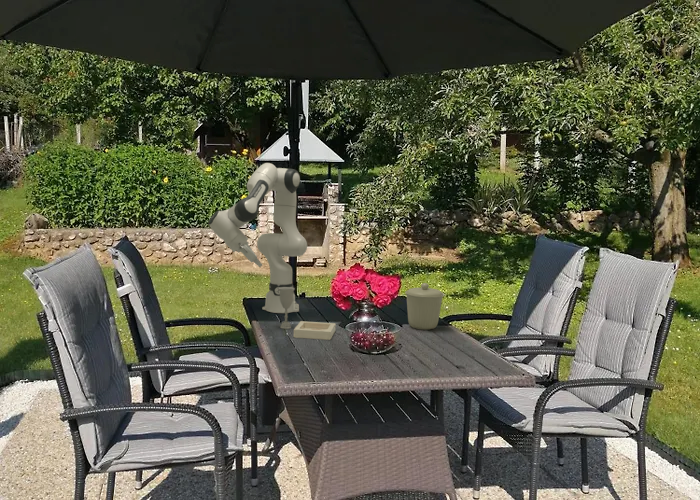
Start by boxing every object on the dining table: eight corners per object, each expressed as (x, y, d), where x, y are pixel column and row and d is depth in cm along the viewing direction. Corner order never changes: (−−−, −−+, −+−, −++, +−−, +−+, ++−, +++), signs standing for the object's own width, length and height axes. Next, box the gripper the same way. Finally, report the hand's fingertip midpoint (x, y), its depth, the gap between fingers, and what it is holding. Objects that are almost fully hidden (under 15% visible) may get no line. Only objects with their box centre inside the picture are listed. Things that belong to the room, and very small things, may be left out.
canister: (400, 329, 316) (402, 284, 313) (406, 321, 333) (408, 278, 331) (439, 333, 312) (442, 287, 309) (444, 324, 329) (446, 281, 326)
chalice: (295, 326, 316) (296, 287, 313) (292, 329, 309) (293, 290, 307) (279, 325, 316) (280, 286, 314) (276, 328, 310) (277, 289, 307)
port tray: (300, 328, 311) (300, 321, 310) (335, 331, 309) (335, 323, 309) (293, 337, 295) (293, 329, 295) (330, 339, 293) (330, 331, 293)
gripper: (245, 240, 293) (267, 262, 296) (241, 235, 313) (262, 256, 316) (234, 250, 292) (257, 273, 296) (231, 244, 312) (252, 266, 316)
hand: (260, 264), depth 306 cm, fingers open, 8 cm apart
